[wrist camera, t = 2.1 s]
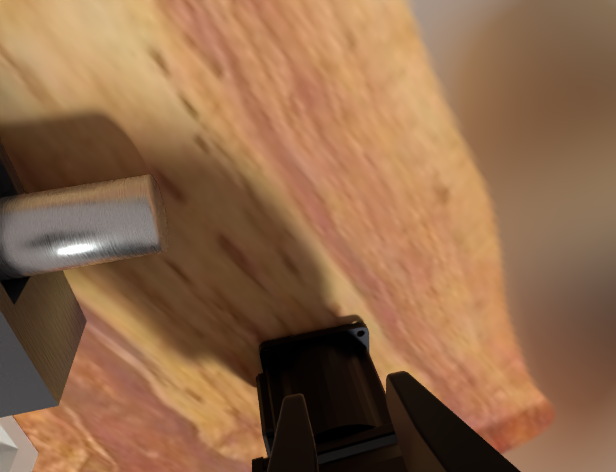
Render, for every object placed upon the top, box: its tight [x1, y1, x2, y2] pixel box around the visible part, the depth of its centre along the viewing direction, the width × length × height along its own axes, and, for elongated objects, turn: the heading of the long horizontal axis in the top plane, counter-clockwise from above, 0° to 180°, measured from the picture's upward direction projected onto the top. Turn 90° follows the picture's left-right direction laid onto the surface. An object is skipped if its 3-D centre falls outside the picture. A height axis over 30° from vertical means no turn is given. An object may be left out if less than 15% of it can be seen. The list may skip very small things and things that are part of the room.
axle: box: [0, 174, 169, 281], centre depth 17 cm, size 12×3×3 cm, turn 95°
